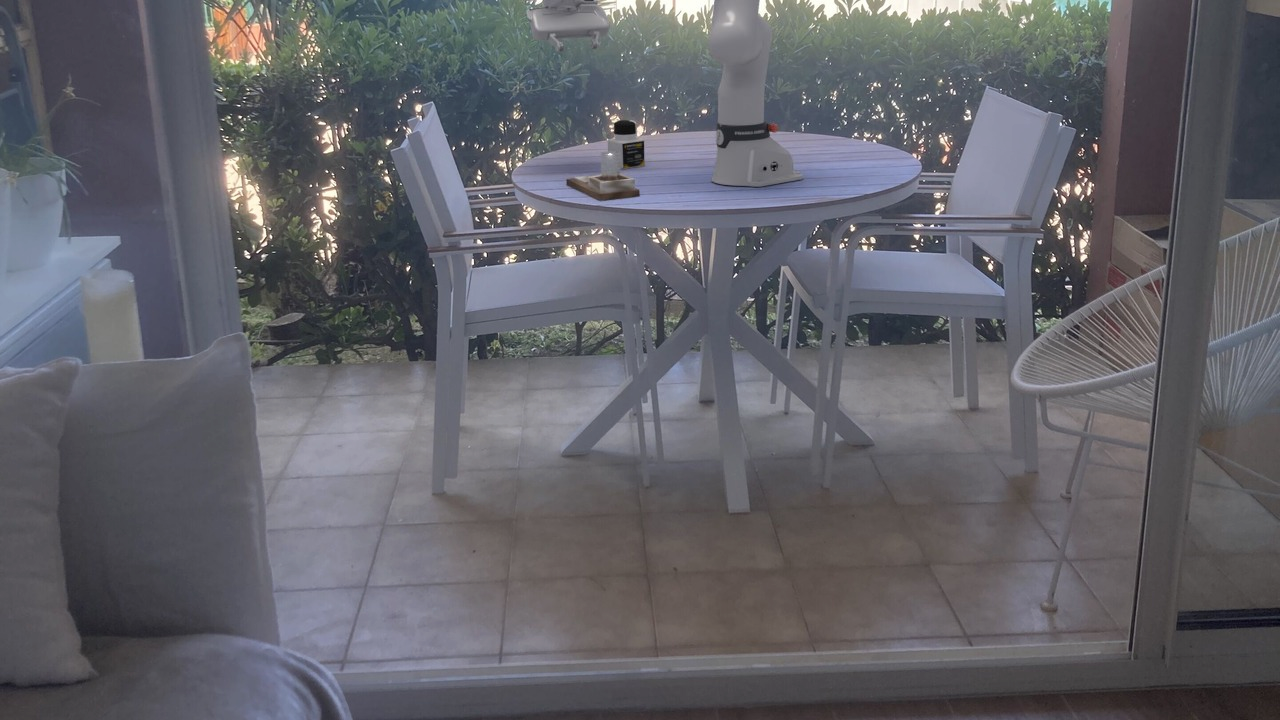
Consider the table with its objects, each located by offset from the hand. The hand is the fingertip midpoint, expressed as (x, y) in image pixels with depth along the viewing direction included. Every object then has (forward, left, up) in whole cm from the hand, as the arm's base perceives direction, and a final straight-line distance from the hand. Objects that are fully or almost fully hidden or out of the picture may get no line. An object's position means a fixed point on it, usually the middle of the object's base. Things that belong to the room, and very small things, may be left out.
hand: (578, 48), depth 283 cm
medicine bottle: (-14, -5, -32) cm, 35 cm away
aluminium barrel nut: (+4, +28, -29) cm, 41 cm away
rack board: (+4, +22, -31) cm, 39 cm away
